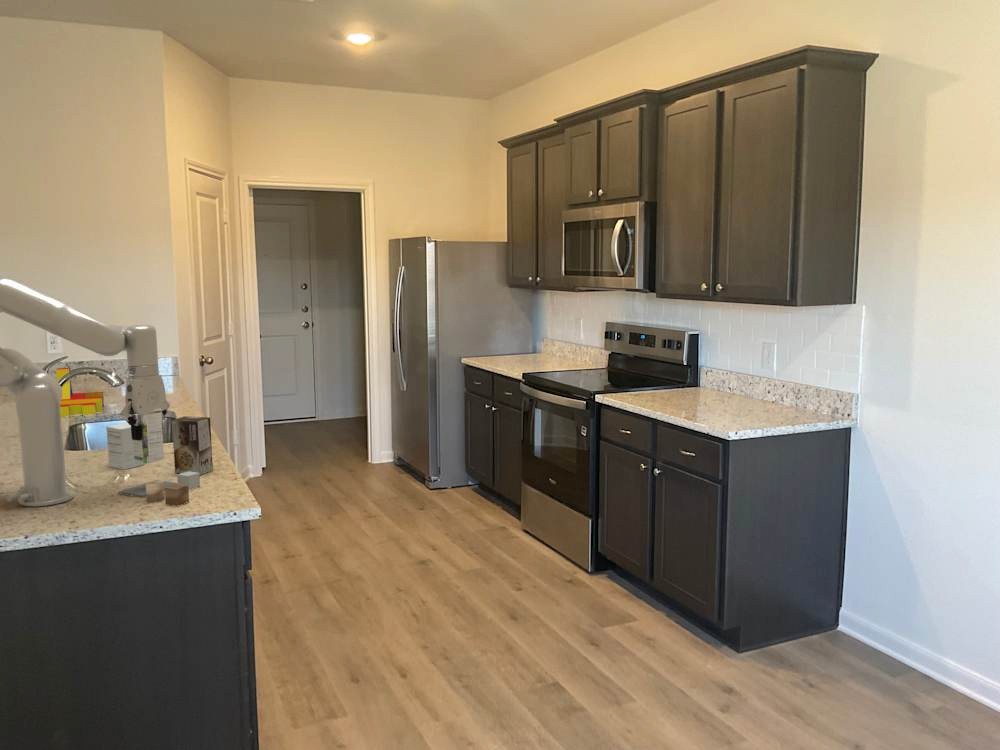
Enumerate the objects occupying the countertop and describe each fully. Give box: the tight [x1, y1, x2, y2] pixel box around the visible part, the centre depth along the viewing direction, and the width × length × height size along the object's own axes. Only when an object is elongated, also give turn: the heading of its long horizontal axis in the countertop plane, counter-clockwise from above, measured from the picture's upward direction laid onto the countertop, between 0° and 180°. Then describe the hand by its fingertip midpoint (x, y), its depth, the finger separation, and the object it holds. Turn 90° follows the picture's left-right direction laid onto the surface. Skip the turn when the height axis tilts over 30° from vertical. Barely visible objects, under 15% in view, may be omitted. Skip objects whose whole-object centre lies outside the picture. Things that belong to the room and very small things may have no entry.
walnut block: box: [164, 484, 190, 507], centre depth 208 cm, size 4×4×4 cm
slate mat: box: [118, 479, 178, 498], centre depth 221 cm, size 13×9×1 cm
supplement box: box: [105, 422, 145, 470], centre depth 247 cm, size 7×7×13 cm
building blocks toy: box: [55, 367, 105, 417], centre depth 337 cm, size 19×25×18 cm
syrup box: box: [133, 408, 165, 465], centre depth 219 cm, size 6×6×14 cm
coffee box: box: [171, 415, 214, 476], centre depth 239 cm, size 9×6×16 cm
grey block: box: [176, 471, 201, 490], centre depth 223 cm, size 4×4×4 cm
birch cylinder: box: [145, 480, 165, 503], centre depth 212 cm, size 4×4×4 cm
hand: (147, 436), depth 219 cm, fingers closed on syrup box, 6 cm apart
